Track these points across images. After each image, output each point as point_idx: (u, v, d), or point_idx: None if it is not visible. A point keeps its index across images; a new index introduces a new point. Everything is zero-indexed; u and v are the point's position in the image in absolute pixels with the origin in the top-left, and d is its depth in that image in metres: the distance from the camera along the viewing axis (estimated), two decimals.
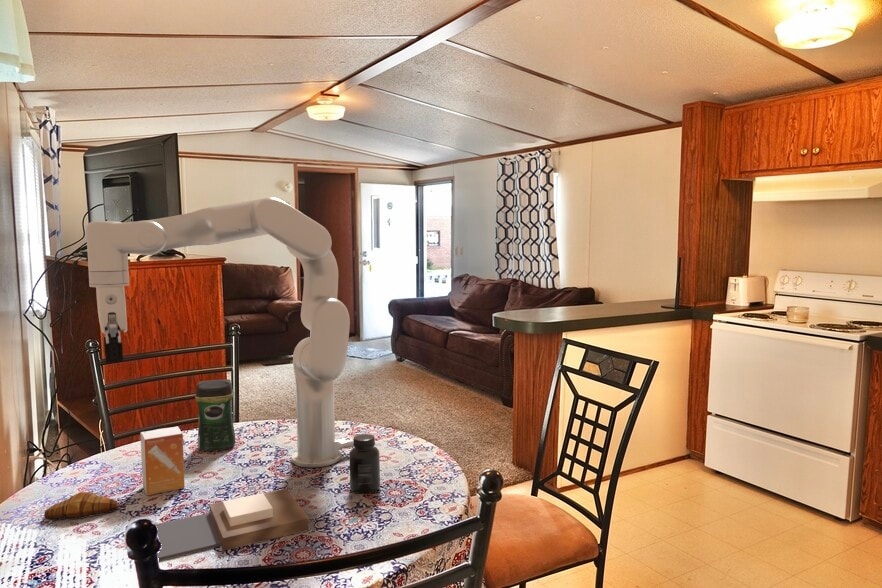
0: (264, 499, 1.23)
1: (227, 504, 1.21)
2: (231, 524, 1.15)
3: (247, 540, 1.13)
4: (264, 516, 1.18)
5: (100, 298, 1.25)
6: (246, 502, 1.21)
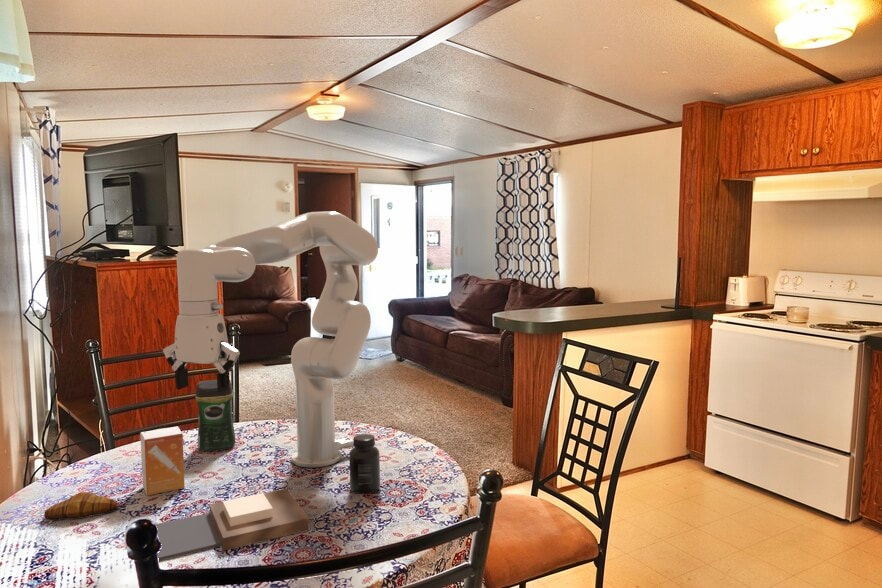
0: (264, 499, 1.23)
1: (227, 504, 1.21)
2: (231, 524, 1.15)
3: (247, 540, 1.13)
4: (264, 516, 1.18)
5: (212, 328, 1.23)
6: (246, 502, 1.21)
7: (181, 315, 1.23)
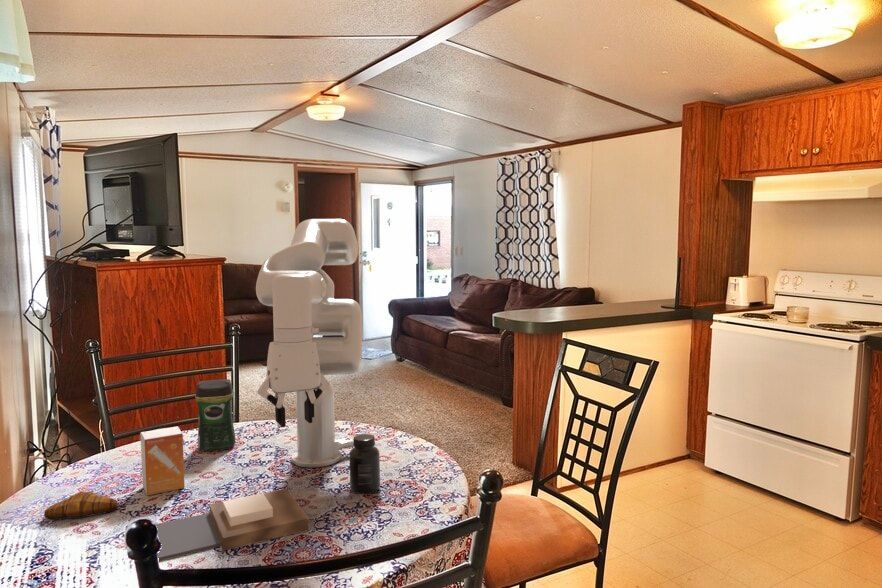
0: (264, 499, 1.23)
1: (227, 504, 1.21)
2: (231, 524, 1.15)
3: (247, 540, 1.13)
4: (264, 516, 1.18)
5: (316, 352, 1.23)
6: (246, 502, 1.21)
7: (288, 343, 1.18)
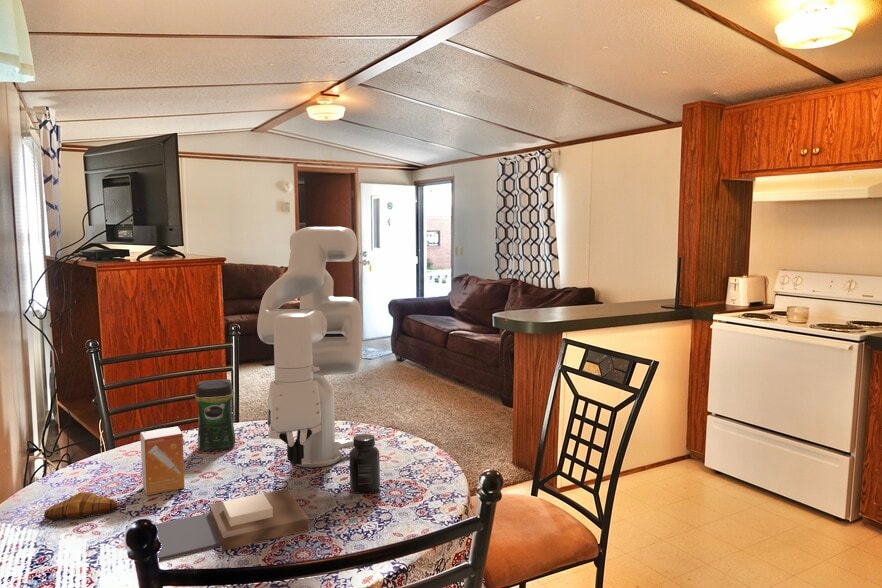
0: (264, 499, 1.23)
1: (227, 504, 1.21)
2: (231, 524, 1.15)
3: (247, 540, 1.13)
4: (264, 516, 1.18)
5: (317, 391, 1.23)
6: (246, 502, 1.21)
7: (289, 383, 1.19)
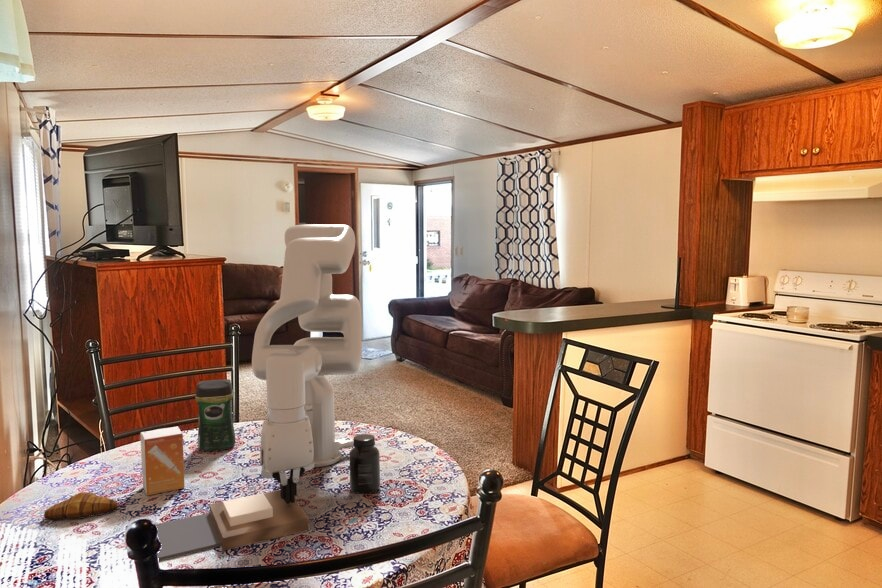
0: (264, 499, 1.23)
1: (227, 504, 1.21)
2: (231, 524, 1.15)
3: (247, 540, 1.13)
4: (264, 516, 1.18)
5: (310, 430, 1.23)
6: (246, 502, 1.21)
7: (282, 424, 1.19)
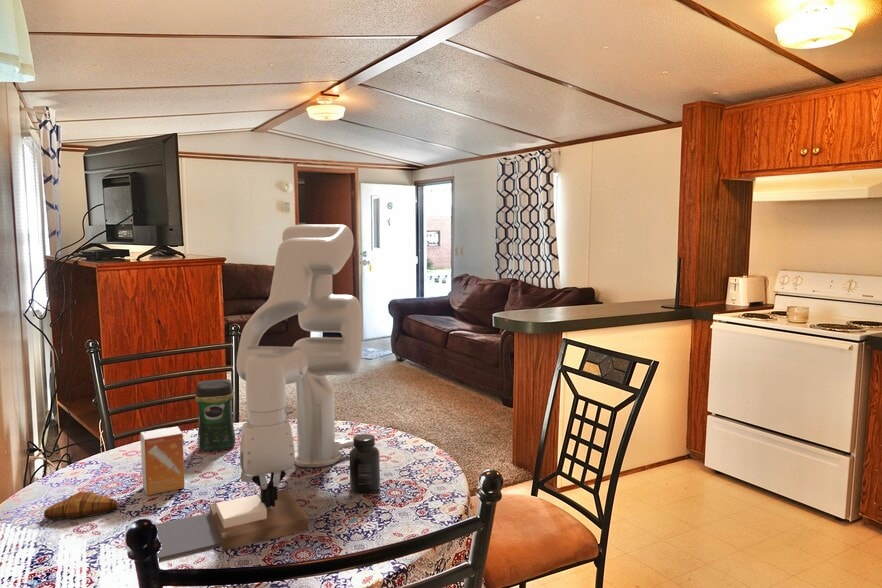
0: (258, 500, 1.22)
1: (221, 505, 1.20)
2: (225, 526, 1.14)
3: (247, 540, 1.13)
4: (258, 517, 1.17)
5: (291, 433, 1.22)
6: (240, 504, 1.21)
7: (261, 427, 1.17)
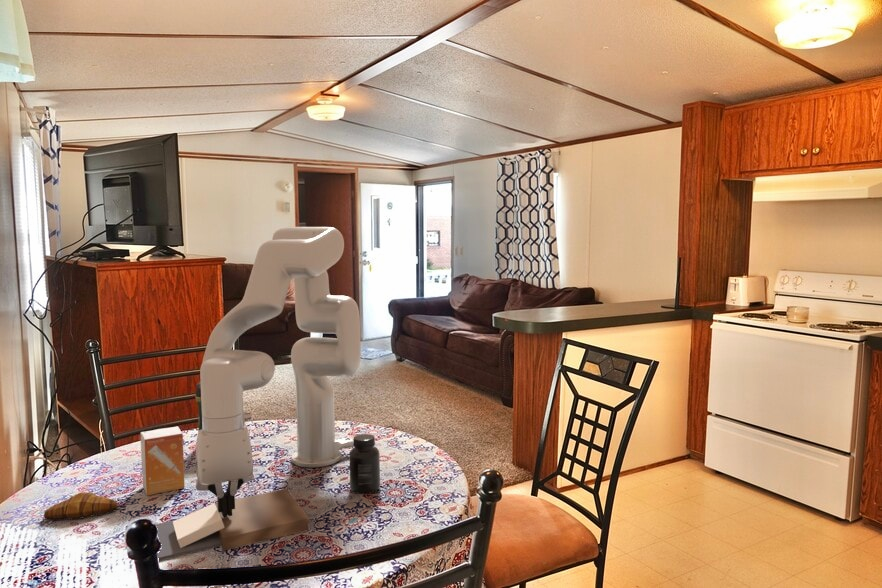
0: (214, 510, 1.18)
1: (177, 524, 1.16)
2: (181, 546, 1.11)
3: (247, 540, 1.13)
4: (214, 529, 1.13)
5: (248, 440, 1.18)
6: (196, 518, 1.16)
7: (216, 434, 1.13)
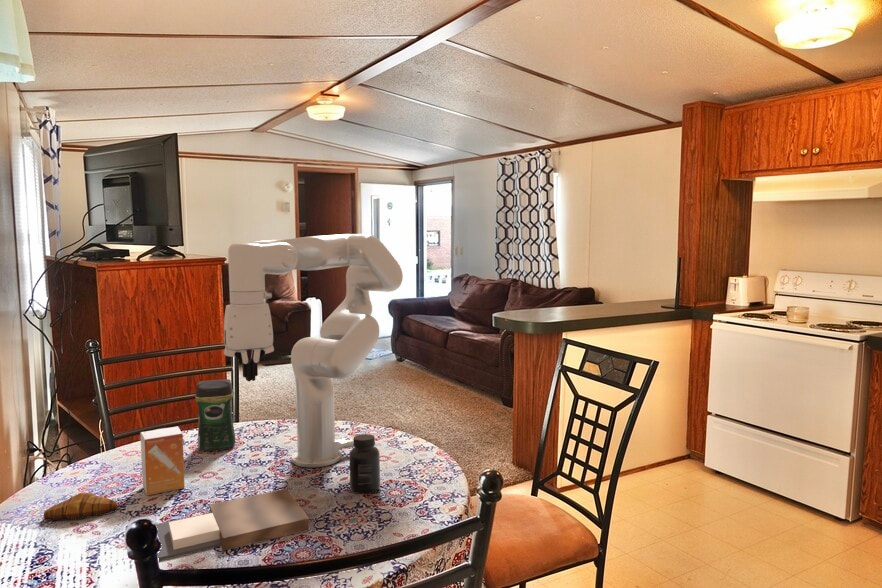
0: (212, 520, 1.18)
1: (173, 525, 1.16)
2: (174, 547, 1.10)
3: (247, 540, 1.13)
4: (210, 538, 1.13)
5: (269, 314, 1.35)
6: (193, 523, 1.16)
7: (242, 305, 1.31)
